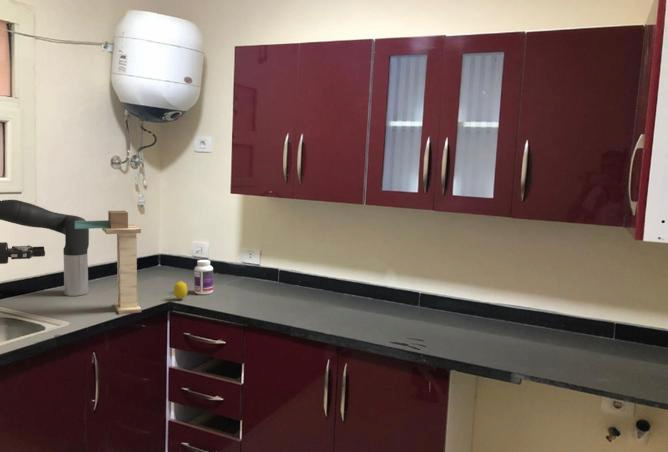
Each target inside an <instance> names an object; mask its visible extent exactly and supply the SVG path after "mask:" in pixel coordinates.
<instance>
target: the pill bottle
mask: <svg viewBox="0 0 668 452" xmlns="http://www.w3.org/2000/svg"><path fill="white" fill-rule="evenodd" d="M196 264H197V265H196V266H195V267H194V269H193V271H194V275H193V276H194V293H195V294H197V295H210V294H212V293H213V292H214V267H213V266H212V265H211V260H209V259H208V260H207V259H198V260H197V263H196Z"/></svg>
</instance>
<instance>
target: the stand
mask: <svg viewBox="0 0 668 452" xmlns="http://www.w3.org/2000/svg"><path fill="white" fill-rule="evenodd" d="M101 229H102V231H103V232H104V233H105V234H106V235H116V259H117V260H116V261H117V262H116V268H117V269H116V270H117V273H116V274H117V275H116V276H117V277H116V278H117V301H113V305H114V307H115V310H116V311H117V312H118V314H119V315H124V314H136V313H138V314H139V313H142V308H141V306H140V305H139V303H138V269H137V268H138V267H137V266H138V264H137V262H138V259H137V258H138V254H137V241H138V240H137V234H141V233H142V231H141V230H142V229H141V228H140V227H138V226H137V225H135V224H128V228H124V229H111V228H101Z"/></svg>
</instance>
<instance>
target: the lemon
mask: <svg viewBox="0 0 668 452" xmlns="http://www.w3.org/2000/svg"><path fill="white" fill-rule="evenodd" d="M173 294H174V297H176V298H177V299H179V300H180V301H181V300H183V299H184V298H185V297H186V296H187V295H188V286H187V284H186V282H183V281H182V280H179V281H177V282H176V283H175V285H174V287H173Z"/></svg>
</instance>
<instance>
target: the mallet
mask: <svg viewBox="0 0 668 452" xmlns="http://www.w3.org/2000/svg"><path fill="white" fill-rule="evenodd" d="M107 214H108V215H107V217H108V219H107V220H86V221H75V229H89V230H90V229H102V228H111V229H124V228H128V225H129V212H127V211H126V210H108V212H107Z"/></svg>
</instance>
